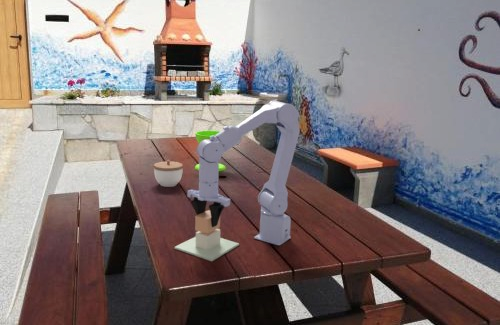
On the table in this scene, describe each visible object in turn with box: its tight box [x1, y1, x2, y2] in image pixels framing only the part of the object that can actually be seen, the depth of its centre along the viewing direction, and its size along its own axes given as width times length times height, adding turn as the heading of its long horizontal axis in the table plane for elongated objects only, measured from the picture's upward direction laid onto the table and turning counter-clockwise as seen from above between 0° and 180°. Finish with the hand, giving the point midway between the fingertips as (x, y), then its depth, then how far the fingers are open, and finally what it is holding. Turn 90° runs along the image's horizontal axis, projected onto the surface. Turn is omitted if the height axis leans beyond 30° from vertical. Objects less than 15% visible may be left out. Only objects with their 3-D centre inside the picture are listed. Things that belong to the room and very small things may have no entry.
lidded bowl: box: [153, 159, 184, 188], centre depth 199 cm, size 13×13×11 cm
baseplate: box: [174, 236, 240, 262], centre depth 138 cm, size 14×14×1 cm
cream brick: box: [195, 228, 221, 250], centre depth 137 cm, size 4×6×4 cm
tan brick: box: [194, 209, 221, 234], centre depth 136 cm, size 4×6×4 cm
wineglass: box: [194, 130, 227, 172], centre depth 230 cm, size 16×16×18 cm
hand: (207, 223), depth 136 cm, fingers closed on tan brick, 4 cm apart
